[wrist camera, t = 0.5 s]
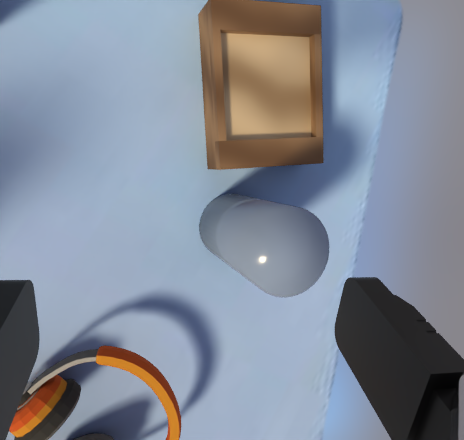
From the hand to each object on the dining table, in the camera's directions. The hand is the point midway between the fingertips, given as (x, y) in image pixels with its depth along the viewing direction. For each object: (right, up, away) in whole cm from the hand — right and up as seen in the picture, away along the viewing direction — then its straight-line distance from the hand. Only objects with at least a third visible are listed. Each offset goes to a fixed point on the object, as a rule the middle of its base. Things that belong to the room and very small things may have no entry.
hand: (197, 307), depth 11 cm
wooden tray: (+3, +13, +23) cm, 27 cm away
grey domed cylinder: (+1, +2, +24) cm, 25 cm away
